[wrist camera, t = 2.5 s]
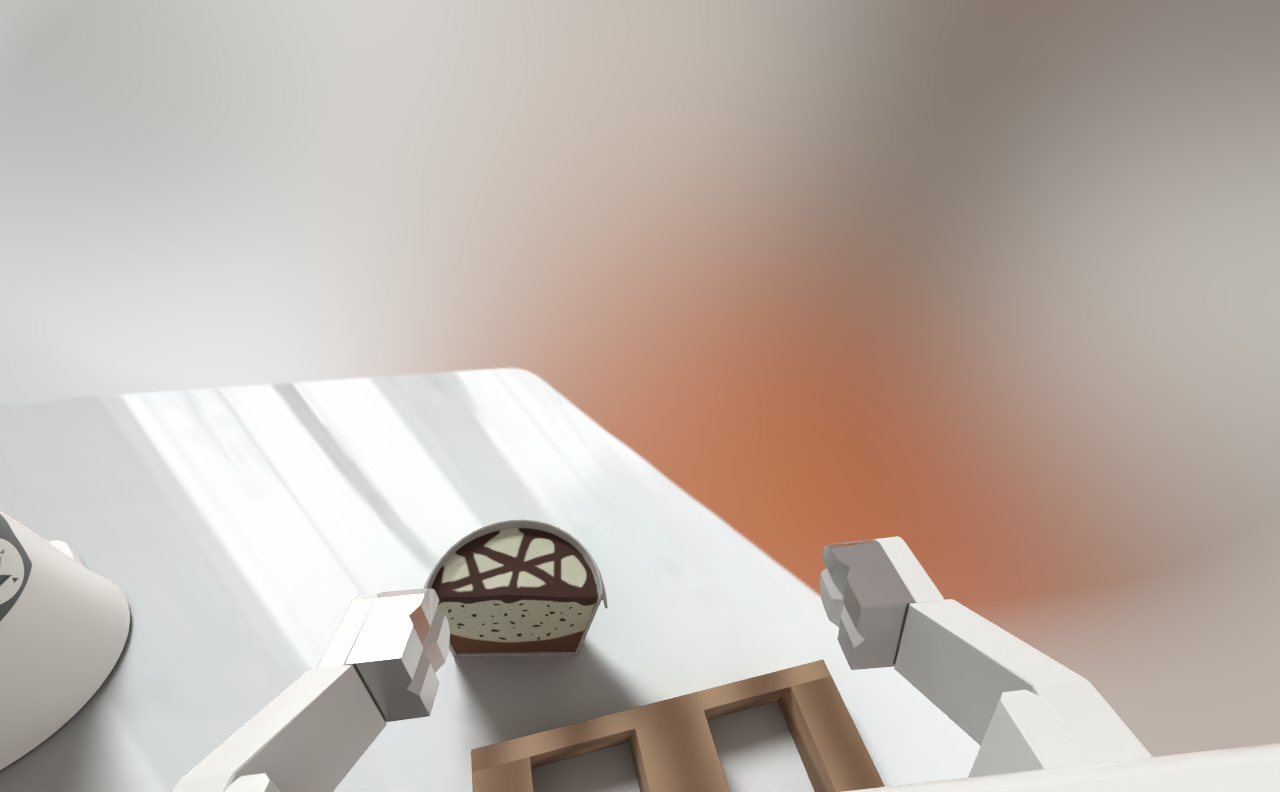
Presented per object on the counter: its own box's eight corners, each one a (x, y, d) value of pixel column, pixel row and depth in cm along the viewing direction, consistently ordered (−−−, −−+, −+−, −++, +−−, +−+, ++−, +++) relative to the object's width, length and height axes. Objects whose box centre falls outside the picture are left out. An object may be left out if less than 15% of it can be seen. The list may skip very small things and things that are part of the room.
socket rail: (482, 961, 29) (479, 960, 27) (474, 762, 35) (471, 749, 33) (874, 816, 36) (894, 807, 34) (809, 674, 43) (823, 659, 41)
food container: (595, 581, 46) (608, 515, 39) (596, 654, 41) (610, 594, 35) (448, 580, 44) (435, 510, 37) (432, 656, 40) (414, 593, 33)
